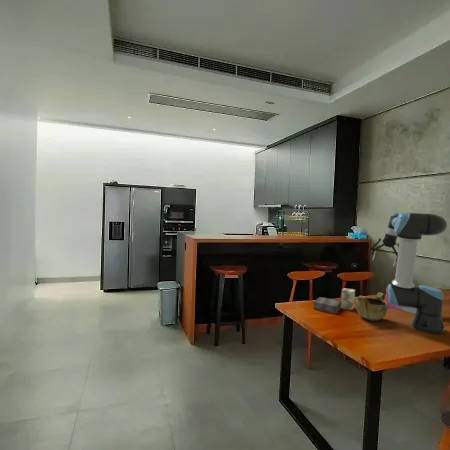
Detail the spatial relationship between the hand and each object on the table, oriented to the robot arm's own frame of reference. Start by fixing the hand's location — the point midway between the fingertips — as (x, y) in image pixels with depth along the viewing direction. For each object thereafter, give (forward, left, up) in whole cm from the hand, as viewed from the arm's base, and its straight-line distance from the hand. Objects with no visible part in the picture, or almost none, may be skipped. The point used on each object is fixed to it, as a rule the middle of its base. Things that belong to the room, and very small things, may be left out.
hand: (383, 262), depth 213 cm
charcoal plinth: (-27, +43, -29) cm, 58 cm away
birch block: (-22, +29, -28) cm, 46 cm away
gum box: (-16, -10, -28) cm, 34 cm away
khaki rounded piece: (-40, +21, -28) cm, 54 cm away
